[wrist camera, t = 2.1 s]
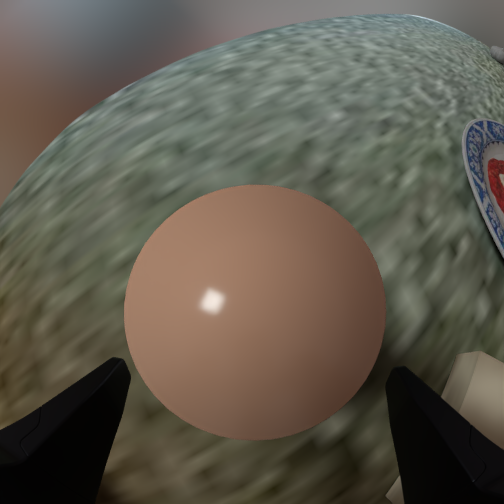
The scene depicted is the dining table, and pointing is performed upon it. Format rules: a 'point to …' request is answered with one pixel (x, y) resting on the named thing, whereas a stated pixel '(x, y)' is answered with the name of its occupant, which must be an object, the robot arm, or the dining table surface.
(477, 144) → the ceramic plate
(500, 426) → the base block
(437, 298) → the dining table surface
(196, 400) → the jar
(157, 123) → the dining table surface
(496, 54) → the garlic
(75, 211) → the dining table surface
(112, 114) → the dining table surface
